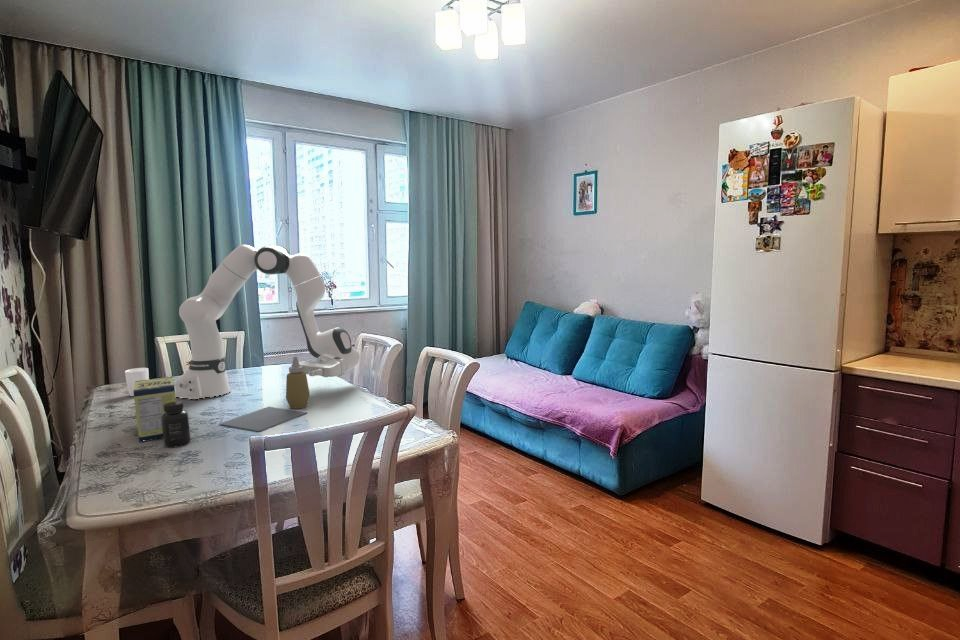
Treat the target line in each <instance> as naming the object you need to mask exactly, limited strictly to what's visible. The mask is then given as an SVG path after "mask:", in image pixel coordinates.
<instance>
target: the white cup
mask: <svg viewBox="0 0 960 640" xmlns="http://www.w3.org/2000/svg"><path fill="white" fill-rule="evenodd" d="M149 373H150V372H149V368H148V367H135V368H129V369H126V370H125V371H124V375H125V382H126V387H127V390H128V395H129V394H134V392H133V391H134V386H135V381H142V380H150V377H149V376H150V374H149Z"/></svg>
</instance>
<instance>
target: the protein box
mask: <svg viewBox="0 0 960 640" xmlns="http://www.w3.org/2000/svg"><path fill="white" fill-rule="evenodd" d="M133 392H134V397H133V400H134V406H135V416H136V423H137V424H136V425H137V433H138V442H139V441H143V440H149V441H151V440H150V439H155V438H160V439H162V438H161V437H163V432H162V423H161V417H162V415H163V414H164V413H165V412H164V405H165V404H167V403H170V402H177V400H176V399H177V398H176V396H175V383H174V376H167V377H160V378H152V379H150V378H149V380H142V381H135V386H134V391H133ZM155 440H156V439H155ZM143 442H144V441H143Z"/></svg>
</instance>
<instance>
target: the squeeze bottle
mask: <svg viewBox="0 0 960 640" xmlns="http://www.w3.org/2000/svg"><path fill="white" fill-rule="evenodd" d="M299 362H300V361H299V360H298V356H293V358H292V363H291V365H292V366H289V367H288V372H289V373H287V374H286V379H285V380H286V386H285V400H286V402H287V403H288V405H289V409H294V410H295V409H302V408H306V407H307V406H308V404H309V400H310V395H311V394H310V389H309V383H308V377H307V374H306V373H305V372H302V371H303V366H300V365H299Z"/></svg>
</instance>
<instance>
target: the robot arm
mask: <svg viewBox="0 0 960 640" xmlns="http://www.w3.org/2000/svg"><path fill="white" fill-rule="evenodd" d="M257 270H258V271H259V272H261V273H263V274H265V275H278V274H279V275H280V274H281V275H282V274H285V275H287V277H288V278H289V279H290V281H291V284H292V286H293V289H294V291H295V294H296V303H295V305H296V306H295V307H296V312H297V315H298V318H299V320H300V321H299V322H300V324H301V327H302V330H303V333H304V337H305V340H306V347H307V351H308V352H309V354H310V355H311V356H313V357H314V359H315V358H316V360H315V361H314V360H302V361H298V362H299V365H300V366H303V371H302V372H305V373H306V375H308V376H309V377H317V376H320V377H323V378H333V377H341V376H342V377H343V376H345V372H348V371H350V370H352V369H354V368H355V367H356V366H358V364H359V362H360V353H359V351H358V350H357V349H356V348H355V347H354V346H353V345H352V340H351V337H350V335H349V333H348V331H347V330H346V329H344V328H343V327H335V328H331V329H328V330H326V331H322V332H321V331H320V330H319V327H318V324H317V320H316V317H315V311H314V310H315V308H316V306H317V304H319V303H320V301H321V300H322V298H323V297H324V296H325V292H326V286H325V282H324V280H323V278H322V276H321V274H320V271H319V269H318V268H317V266H316V265H315V263H314V262H313V260H312V259H311V257H310V256H309V255H308V254H306V253H296V254H294V255H291V254H290V251H289V250H288V249H287V248H285V247H284V246H281V245H275V244H271V245H266V246H263V247H261V248H259V249H256V248H255V247H253V246H251V245H248V244H240V245H238V246H237V247H236V248H234V249H233V250H232V251H230V253H229V254H228V255H227V256H226V257H225V258H224V259H223V260H222V261H221V263H220V264H219V265H218V266H217V267H216V269H215V270H214V271H213V273H212V274H211V275H210V276H209V278H208V282H207V284H206V285H205V287H204V288H203V289H202V291H201V293H199V294H198V295H196V296H191V297H189V298H187V299H186V300H185V301H183V302H182V303H181V304H180V306H179V309H178V315H179V318H180V319H181V321H182V322H184V325H185V329H186V332H187V334H188V335H187V336H188V338H189V343H190V352H191V353H190V354H191V360H190V361H186V366H188V370H186V371H185V372H184V373H183V374H181V376H180V377H178V378H177V379H176V381H175V384H174V388H175V396H176V397H183V398H191V399H198V400H200V399H199V398H203V399H206V398H205V397H210V398H215V397H214V396H216V397H220V396H219V395H221V396H223V394H225V395H227V394H230V393H231V392H232V389H231V386H230V384H229V380H228V377H227V372H226V368H227V367H226V366H227V365H226V364H227V363H226V357H225V356H224V355H225V354H224V346H223V345H224V344H223V336H222V335H221V334H220V330H219V329H218V324H217V320H219V319H220V318H221V317H223V315H224V313H226V311H227V309H228V307H229V306H230V304H231V303H232V301H233V299H234V298H235V296H236V295H237V294H238V292H239V291H240V290H241V289H242V287H243V286H244V285H245V284H246V282H247V281H248V280H249V279H250V278H251V276H252V275H253V274H254V272H257ZM290 367H292V364H291V366H290ZM229 392H230V393H229ZM226 393H227V394H226Z"/></svg>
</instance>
